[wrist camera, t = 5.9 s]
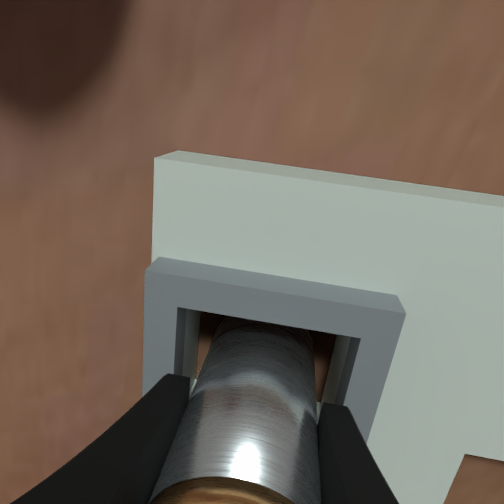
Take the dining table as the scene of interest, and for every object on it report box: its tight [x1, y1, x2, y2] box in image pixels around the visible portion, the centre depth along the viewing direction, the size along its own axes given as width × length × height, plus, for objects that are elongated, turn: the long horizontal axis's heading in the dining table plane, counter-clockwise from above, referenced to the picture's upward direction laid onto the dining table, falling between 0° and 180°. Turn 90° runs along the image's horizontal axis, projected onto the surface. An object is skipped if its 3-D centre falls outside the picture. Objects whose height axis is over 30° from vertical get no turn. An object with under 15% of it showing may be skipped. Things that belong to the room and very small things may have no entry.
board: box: [142, 150, 504, 504], centre depth 12 cm, size 18×16×3 cm
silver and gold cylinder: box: [148, 316, 321, 504], centre depth 10 cm, size 4×4×7 cm
